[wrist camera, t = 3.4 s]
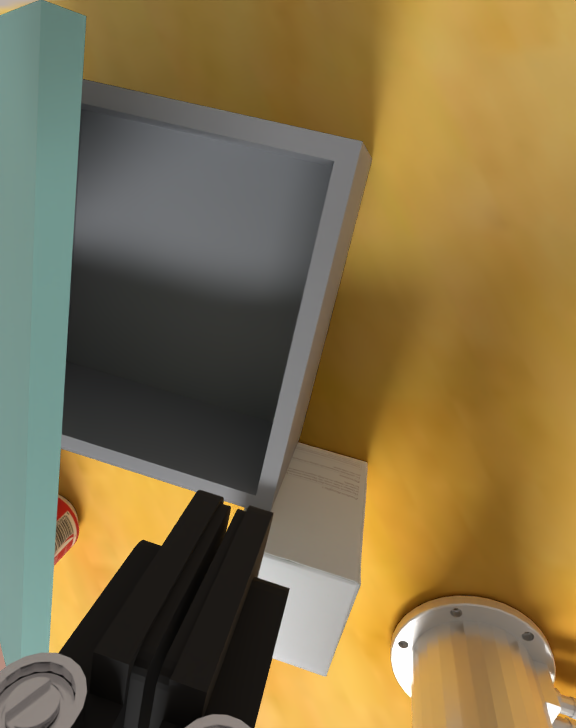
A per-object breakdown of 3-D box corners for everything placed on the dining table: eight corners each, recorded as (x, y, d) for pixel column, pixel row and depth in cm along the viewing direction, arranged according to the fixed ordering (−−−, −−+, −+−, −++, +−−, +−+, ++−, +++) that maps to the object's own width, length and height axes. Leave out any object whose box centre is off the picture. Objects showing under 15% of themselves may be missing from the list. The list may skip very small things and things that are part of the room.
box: (372, 158, 30) (362, 141, 21) (300, 436, 37) (269, 515, 28) (78, 92, 33) (-47, 50, 23) (63, 365, 40) (-38, 416, 30)
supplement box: (259, 510, 40) (204, 638, 29) (278, 433, 38) (226, 539, 26) (346, 538, 40) (326, 682, 28) (372, 461, 37) (362, 584, 25)
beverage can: (21, 478, 44) (-104, 571, 33) (84, 491, 43) (-23, 592, 32) (27, 535, 47) (-89, 641, 35) (87, 549, 46) (-12, 663, 34)
